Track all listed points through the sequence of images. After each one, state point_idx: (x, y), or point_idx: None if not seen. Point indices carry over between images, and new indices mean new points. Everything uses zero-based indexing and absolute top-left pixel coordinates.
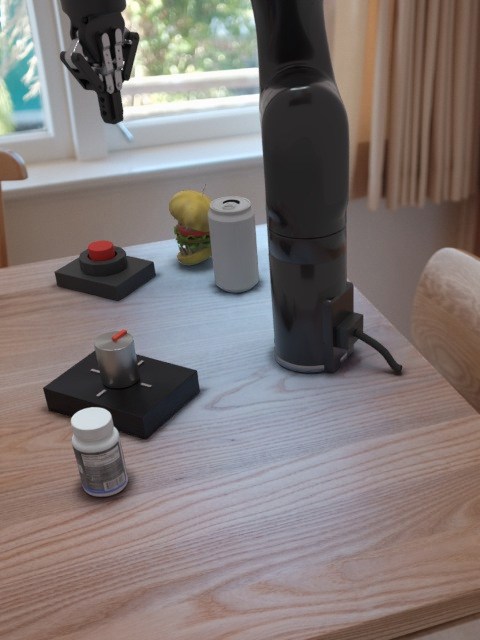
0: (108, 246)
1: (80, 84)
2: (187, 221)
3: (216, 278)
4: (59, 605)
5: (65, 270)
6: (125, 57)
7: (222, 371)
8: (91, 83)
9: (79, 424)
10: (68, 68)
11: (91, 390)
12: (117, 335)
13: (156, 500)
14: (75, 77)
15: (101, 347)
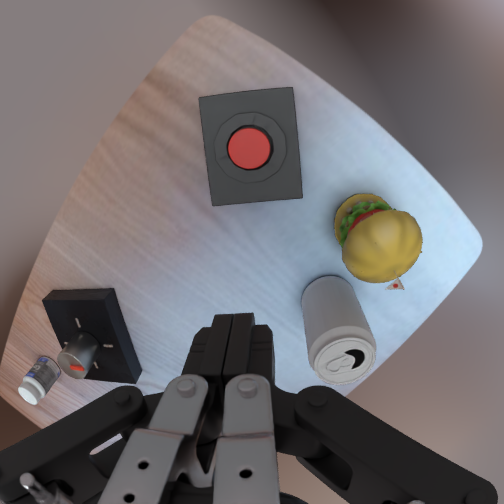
0: (252, 163)
1: (94, 401)
2: (345, 263)
3: (305, 294)
4: (13, 383)
5: (210, 108)
6: (348, 494)
7: (174, 371)
8: (107, 450)
9: (21, 393)
10: (22, 446)
11: (65, 333)
12: (74, 368)
13: (64, 391)
14: (62, 422)
15: (59, 363)
